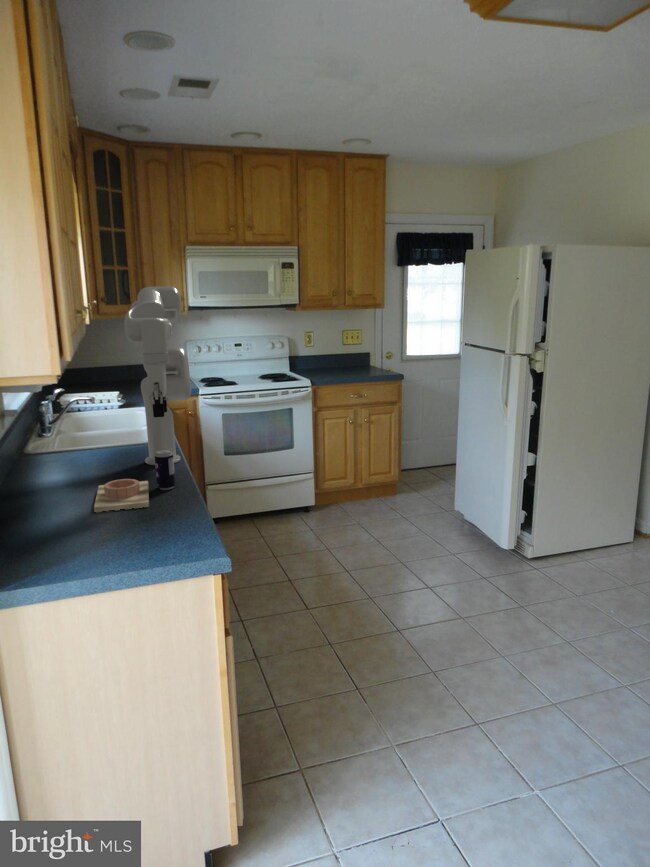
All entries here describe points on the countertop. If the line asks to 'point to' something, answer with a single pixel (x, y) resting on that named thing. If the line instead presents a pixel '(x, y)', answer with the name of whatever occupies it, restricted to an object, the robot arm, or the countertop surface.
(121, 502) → the base board
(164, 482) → the beverage can
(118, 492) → the segmented ring
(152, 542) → the countertop surface
